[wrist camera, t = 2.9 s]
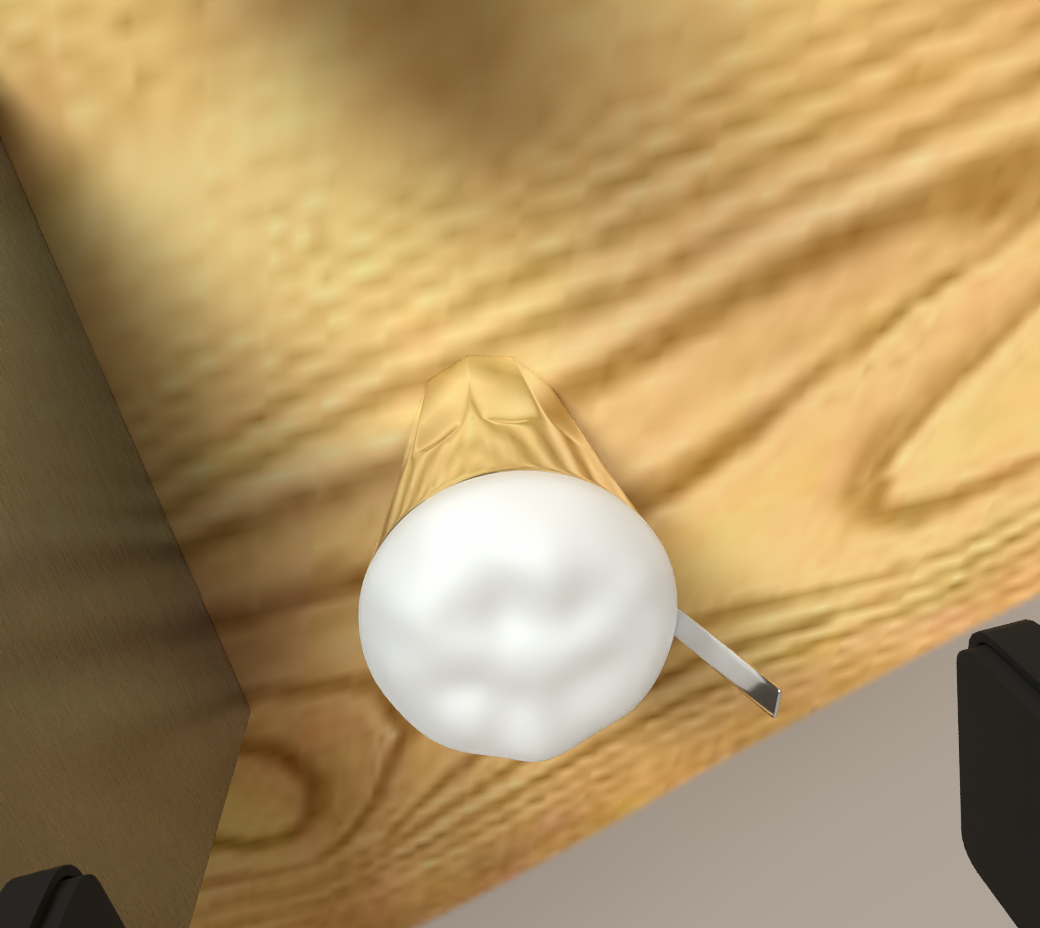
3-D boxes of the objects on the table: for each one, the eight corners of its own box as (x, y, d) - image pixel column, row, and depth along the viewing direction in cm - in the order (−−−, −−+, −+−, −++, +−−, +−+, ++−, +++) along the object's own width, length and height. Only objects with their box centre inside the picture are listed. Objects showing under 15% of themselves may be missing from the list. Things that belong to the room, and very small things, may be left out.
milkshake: (611, 514, 21) (751, 842, 12) (386, 512, 20) (350, 857, 11) (631, 327, 19) (813, 547, 10) (384, 320, 19) (341, 545, 10)
